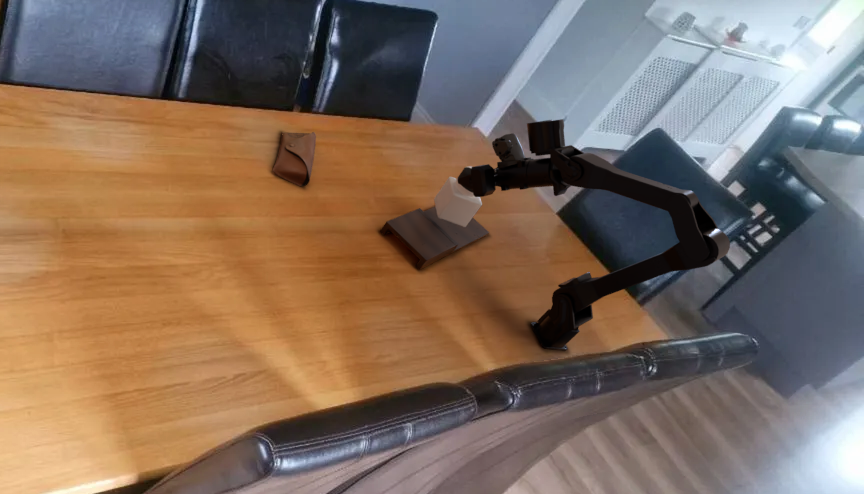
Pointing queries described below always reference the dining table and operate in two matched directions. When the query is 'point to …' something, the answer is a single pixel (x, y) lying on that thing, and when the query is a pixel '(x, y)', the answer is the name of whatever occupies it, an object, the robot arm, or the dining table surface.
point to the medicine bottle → (457, 201)
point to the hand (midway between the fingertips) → (466, 179)
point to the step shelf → (432, 234)
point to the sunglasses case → (296, 157)
